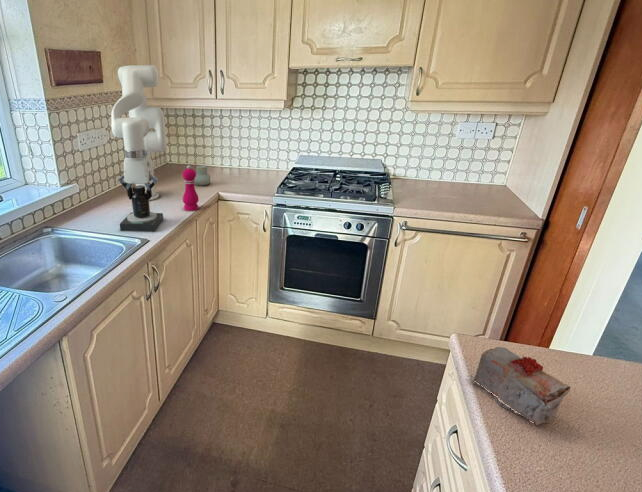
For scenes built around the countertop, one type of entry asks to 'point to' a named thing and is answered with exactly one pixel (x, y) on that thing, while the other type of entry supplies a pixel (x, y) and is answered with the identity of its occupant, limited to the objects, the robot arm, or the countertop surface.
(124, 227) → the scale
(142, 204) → the supplement bottle
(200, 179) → the air freshener
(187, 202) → the pepper mill
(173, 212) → the countertop surface
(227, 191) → the countertop surface
